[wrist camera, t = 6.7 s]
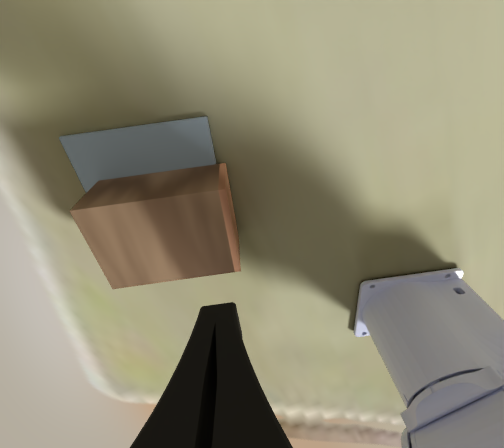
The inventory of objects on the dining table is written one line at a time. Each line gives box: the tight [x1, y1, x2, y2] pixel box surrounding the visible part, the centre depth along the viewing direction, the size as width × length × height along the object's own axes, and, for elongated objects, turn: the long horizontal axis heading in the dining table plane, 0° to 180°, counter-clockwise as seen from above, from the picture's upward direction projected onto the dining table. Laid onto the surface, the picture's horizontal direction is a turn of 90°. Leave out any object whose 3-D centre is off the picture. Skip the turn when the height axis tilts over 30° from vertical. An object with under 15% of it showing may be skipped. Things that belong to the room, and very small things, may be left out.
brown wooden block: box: [70, 163, 241, 289], centre depth 18 cm, size 4×6×8 cm
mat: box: [59, 116, 216, 193], centre depth 20 cm, size 9×12×1 cm
